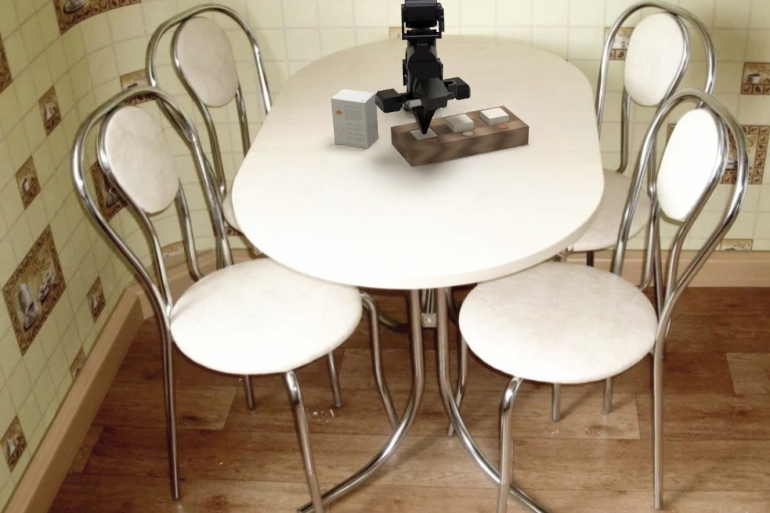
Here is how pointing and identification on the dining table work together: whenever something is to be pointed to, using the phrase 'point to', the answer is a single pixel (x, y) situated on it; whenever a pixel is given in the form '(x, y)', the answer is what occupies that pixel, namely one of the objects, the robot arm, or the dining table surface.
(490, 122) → the key
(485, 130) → the key board
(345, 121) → the small box
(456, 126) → the key mid
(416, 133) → the key
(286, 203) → the dining table surface
